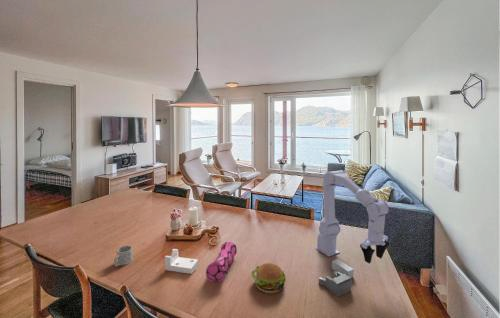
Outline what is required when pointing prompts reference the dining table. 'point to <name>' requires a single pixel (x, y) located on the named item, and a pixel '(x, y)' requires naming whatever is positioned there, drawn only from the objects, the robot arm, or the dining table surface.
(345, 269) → the white rectangular block
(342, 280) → the endcap
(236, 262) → the dining table surface
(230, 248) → the pencil case
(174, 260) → the bracket
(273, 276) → the food
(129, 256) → the mug
